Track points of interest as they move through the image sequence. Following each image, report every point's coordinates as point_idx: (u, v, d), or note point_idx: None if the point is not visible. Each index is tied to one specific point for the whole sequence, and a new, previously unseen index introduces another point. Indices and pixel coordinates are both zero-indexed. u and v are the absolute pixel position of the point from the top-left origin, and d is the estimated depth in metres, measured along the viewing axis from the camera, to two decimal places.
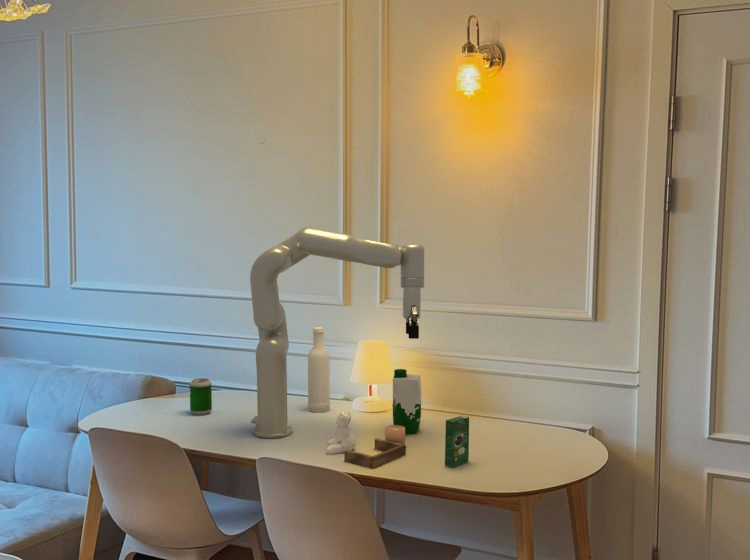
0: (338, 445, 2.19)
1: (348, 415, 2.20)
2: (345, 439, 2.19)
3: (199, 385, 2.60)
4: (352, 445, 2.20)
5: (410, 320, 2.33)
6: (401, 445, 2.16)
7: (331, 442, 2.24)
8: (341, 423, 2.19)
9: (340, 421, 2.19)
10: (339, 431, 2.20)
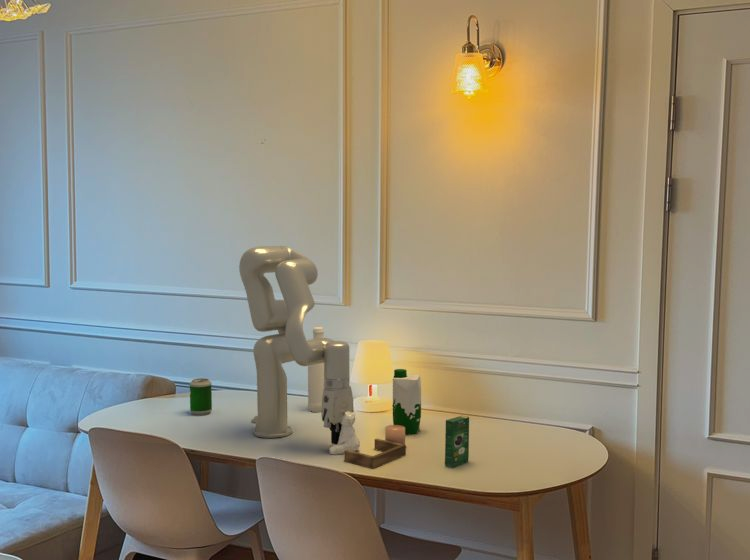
0: (341, 445, 2.18)
1: (352, 416, 2.19)
2: (349, 440, 2.19)
3: (199, 385, 2.60)
4: (356, 446, 2.19)
5: None
6: (401, 445, 2.16)
7: None
8: (345, 423, 2.18)
9: (344, 421, 2.18)
10: (343, 431, 2.19)
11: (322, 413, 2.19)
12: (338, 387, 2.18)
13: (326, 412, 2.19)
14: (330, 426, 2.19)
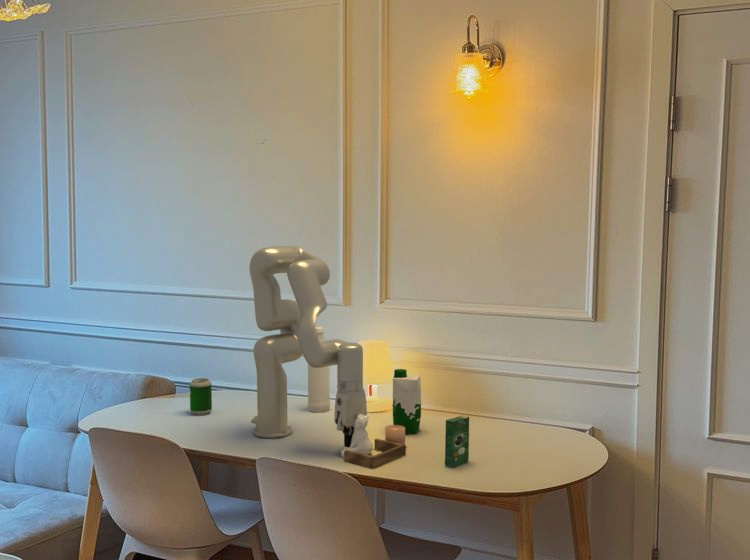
0: (353, 448, 2.15)
1: (364, 419, 2.16)
2: (360, 443, 2.15)
3: (199, 385, 2.60)
4: (368, 449, 2.15)
5: None
6: (401, 445, 2.16)
7: None
8: (357, 426, 2.15)
9: (356, 424, 2.15)
10: (355, 434, 2.16)
11: (335, 416, 2.16)
12: (351, 389, 2.15)
13: (339, 415, 2.16)
14: (343, 429, 2.16)
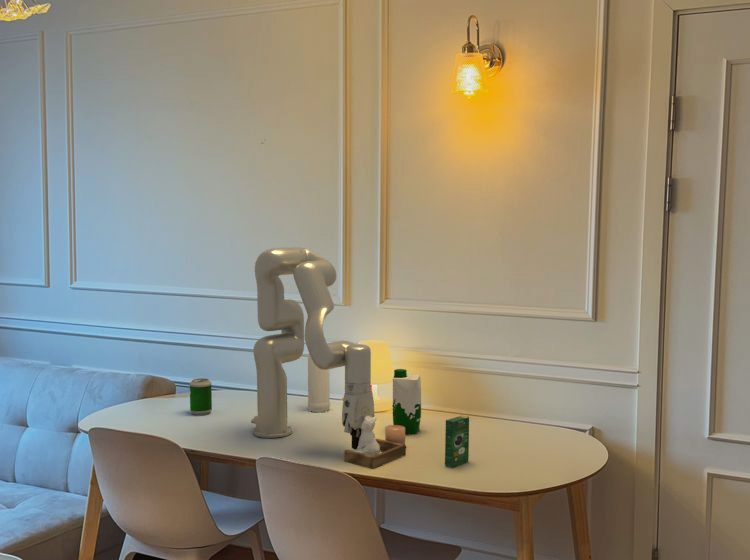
0: (360, 450, 2.13)
1: (371, 420, 2.14)
2: (367, 445, 2.13)
3: (199, 385, 2.60)
4: (375, 452, 2.13)
5: None
6: (401, 445, 2.16)
7: None
8: (363, 428, 2.13)
9: (362, 426, 2.13)
10: (362, 436, 2.14)
11: (343, 418, 2.14)
12: (359, 391, 2.13)
13: (347, 417, 2.14)
14: (351, 431, 2.15)
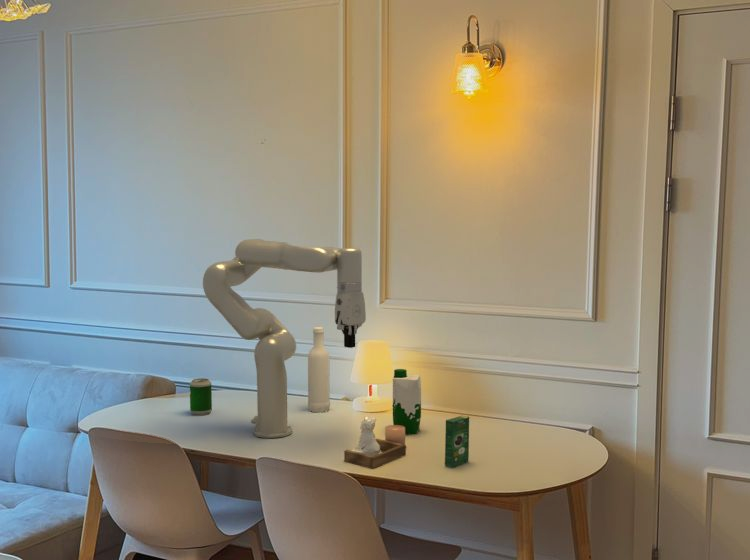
0: (360, 451, 2.13)
1: (371, 421, 2.14)
2: (367, 445, 2.13)
3: (199, 385, 2.60)
4: (375, 452, 2.13)
5: None
6: (401, 445, 2.16)
7: (358, 447, 2.19)
8: (364, 428, 2.13)
9: (363, 426, 2.13)
10: (362, 436, 2.14)
11: (335, 316, 2.27)
12: (351, 290, 2.26)
13: (339, 315, 2.27)
14: (343, 329, 2.27)
